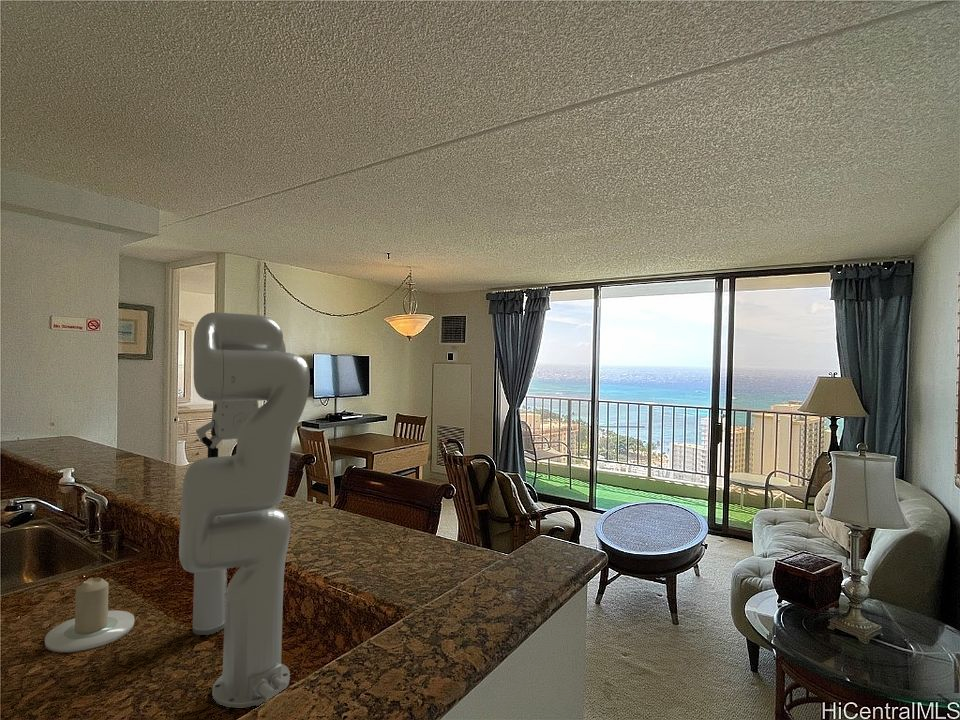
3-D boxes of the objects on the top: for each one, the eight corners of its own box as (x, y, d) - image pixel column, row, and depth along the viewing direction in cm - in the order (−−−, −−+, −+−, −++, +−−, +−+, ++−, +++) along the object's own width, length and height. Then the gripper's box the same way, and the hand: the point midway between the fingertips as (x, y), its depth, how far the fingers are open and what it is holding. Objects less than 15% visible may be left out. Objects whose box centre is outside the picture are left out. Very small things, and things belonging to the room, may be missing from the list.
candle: (79, 637, 104) (80, 587, 104) (71, 628, 107) (72, 580, 108) (111, 626, 108) (112, 579, 108) (102, 618, 112) (103, 572, 112)
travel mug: (184, 632, 109) (187, 537, 109) (213, 618, 115) (215, 529, 115) (203, 640, 106) (205, 543, 106) (231, 626, 112) (234, 534, 112)
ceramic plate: (144, 631, 109) (144, 626, 109) (53, 661, 98) (54, 655, 98) (122, 608, 119) (122, 603, 119) (37, 633, 107) (37, 628, 107)
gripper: (204, 392, 115) (202, 469, 115) (278, 390, 129) (276, 459, 128) (191, 390, 120) (189, 464, 120) (263, 389, 133) (261, 455, 133)
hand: (234, 461), depth 124 cm, fingers open, 9 cm apart
